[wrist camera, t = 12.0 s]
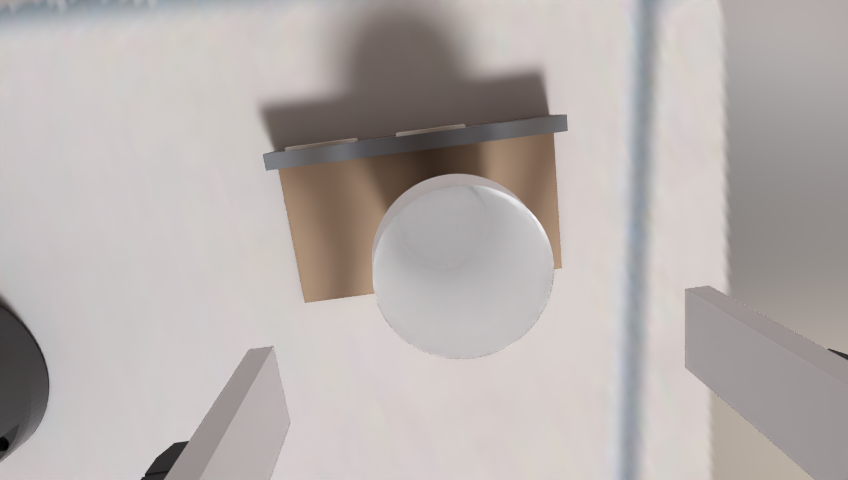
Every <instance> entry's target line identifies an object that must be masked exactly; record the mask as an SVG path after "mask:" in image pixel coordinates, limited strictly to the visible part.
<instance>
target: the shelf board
mask: <svg viewBox="0 0 848 480" xmlns="http://www.w3.org/2000/svg"><path fill="white" fill-rule="evenodd" d="M563 131H568V129H567V115H546V116H539V117H531V118H524V119H516V120H508V121H501V122H493V123H485V124H478V125H470V126H465V124H458V125H451V126H443V127H435V128H428V129H420V130H412V131H405V132H397V133H396V135H394V136H386V137H378V138H371V139H363V140H358V139H357V138H351V139H344V140H336V141H328V142H321V143H313V144H305V145H298V146H291V147H287V148H285V150H279V151H274V152H270V153H266V154H263V158H264V163H265V168H266V170H274V169H279V174H280V179H281V185H282V190H283V195H284V200H285V205H286V210H287V215H288V220H289V225H290V230H291V235H292V240H293V245H294V250H295V255H296V260H297V266H298V271H299V276H300V281H301V286H302V291H303V296H304V301H305V303H307V302H314V301H322V300H329V299H337V298H344V297H352V296H359V295H366V294H374V288H373V271H372V248H373V242H374V238H375V235H376V232H377V229H378V227H379V224H380V222H381V220H382V219H383V217H384V215H385V213H386V212H387V211H388V209H389V208H390V206H391V205H392V204H393V203H394V202H395V201H396V200H397V199H398V198H399V197H400V196H401V195H402V194H403V193H404V192H406V191H407V190H408V189H410V188H412V187H413V186H415V185H416V184H418V183H420V182H422V181H425V180H427V179H430V178H433V177H437V176H441V175H447V174H469V175H475V176H479V177H483V178H486V179H489V180H492V181H494V182H496V183H498V184H500V185H502V186H503V187H505V188H507V189H508V190H509V191H511V192H512V193H513V194H514V195H515V196H517V197H518V198H519V199H520V201H521V202H522V203H523V204H524V205H525V206H526V208H528V209H529V210H530V211H531V213H532V214H533V215H534V216H535V217H536V218H537V220H538V221H539V222H540V224H541V225H542V227H543V229H544V231H545V233H546V235H547V237H548V239H549V242H550V245H551V249H552V254H553V261H554V269H559V268H562V264H561V247H560V231H559V215H558V199H557V182H556V166H555V150H554V133H555V132H563Z"/></svg>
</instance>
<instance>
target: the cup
mask: <svg viewBox="0 0 848 480" xmlns="http://www.w3.org/2000/svg"><path fill="white" fill-rule="evenodd" d="M372 271H373V288H374V293H375V297H376V300H377V303H378V306H379V308H380V310H381V313H382V314H383V316H384V318H385V320H386V321H387V322H388V324H389V325H390V326H391V328H392V329H393V330H394V331H395V332H396V333H397V334H398V335H399V336H400V337H401V338H402V339H404V340H405V341H406V342H407V343H409V344H410V345H412V346H414V347H415V348H417V349H419V350H421V351H423V352H426V353H428V354H431V355H435V356H438V357H443V358H450V359H471V358H477V357H482V356H486V355H490V354H492V353H495V352H498V351H500V350H502V349H504V348H506V347H508V346H509V345H511V344H513V343H514V342H515V341H517V340H518V339H520V338H521V337H522V336H523V335H524V334H525V333H526V332H527V331H528V330H529V329H530V328H531V327H532V326H533V325H534V324H535V322H536V321H537V320H538V318H539V317H540V315H541V314H542V312H543V310H544V308H545V306H546V304H547V301H548V299H549V296H550V293H551V290H552V285H553V278H554V261H553V254H552V249H551V245H550V242H549V239H548V237H547V235H546V233H545V231H544V229H543V227H542V225H541V224H540V222H539V221H538V220H537V218H536V217H535V216H534V215H533V214H532V213H531V211H530V210H529V209H528V208H526V206H525V205H524V204H523V203H522V202H521V201H520V199H519V198H518V197H517V196H515V195H514V194H513V193H512V192H511V191H509V190H508V189H507V188H505V187H503V186H502V185H500V184H498V183H496V182H494V181H492V180H489V179H486V178H483V177H479V176H475V175H469V174H447V175H441V176H437V177H433V178H430V179H427V180H425V181H422V182H420V183H418V184H416V185H415V186H413V187H412V188H410V189H408V190H407V191H406V192H404V193H403V194H402V195H401V196H400V197H399V198H398V199H397V200H396V201H395V202H394V203H393V204H392V205H391V206H390V208H389V209H388V211H387V212H386V213H385V215H384V217H383V219H382V220H381V222H380V224H379V227H378V229H377V232H376V235H375V238H374V242H373V248H372Z"/></svg>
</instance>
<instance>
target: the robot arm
mask: <svg viewBox="0 0 848 480" xmlns="http://www.w3.org/2000/svg"><path fill="white" fill-rule="evenodd" d="M685 367H686V368H687V369H688V370H689V371H690V372H691V373H692V374H694V375H695V376H696V377H697V378H698V379H699V380H701V381H702V382H703V383H704V384H705V385H706V386H707V387H709V388H710V389H711V390H712V391H713V392H714V393H716V394H717V395H718V396H719V397H720V398H721V399H722V400H724V401H725V402H726V403H727V404H728V405H729V406H731V407H732V408H733V409H734V410H735V411H736V412H738V413H739V414H740V415H741V416H742V417H743V418H744V419H746V420H747V421H748V422H749V423H750V424H751V425H753V426H754V427H755V428H756V429H757V430H758V431H759V432H761V433H762V434H763V435H764V436H765V437H766V438H767V439H769V440H770V441H771V442H772V443H773V444H774V445H775V446H777V447H778V448H779V449H780V450H781V451H782V452H784V453H785V454H786V455H787V456H788V457H790V458H791V459H792V460H793V461H794V462H795V463H796V464H797V465H798V466H800V467H801V468H802V469H803V470H804V471H805V472H807V473H808V474H809V475H810V476H811V477H812V478H813V479H815V480H848V355H847V354H844V353H841V352H838V351H835V350H831V349H825V348H824V347H822V346H820V345H818V344H816V343H815V342H813V341H811V340H809V339H807V338H805V337H803V336H802V335H800V334H798V333H796V332H794V331H792V330H790V329H788V328H787V327H785V326H783V325H781V324H779V323H777V322H775V321H773V320H772V319H770V318H768V317H766V316H764V315H763V314H761V313H759V312H757V311H755V310H753V309H751V308H750V307H748V306H746V305H744V304H742V303H740V302H738V301H736V300H735V299H733V298H731V297H729V296H727V295H725V294H723V293H722V292H720V291H718V290H716V289H714V288H712V287H710V286H703V287H695V288H688V289H685ZM48 393H49V386H48V376H47V371H46V367H45V364H44V361H43V358H42V356H41V354H40V351H39V349H38V347H37V346H36V344H35V342H34V341H33V339H32V338H31V336H30V335H29V333H28V332H27V331H26V330H25V328H24V327H23V326H22V325H21V324H20V323H19V322H18V321H17V320H16V319H15V318H14V317H13V316H12V315H11V314H10V313H9V312H8V311H6V310H5V309H4V308H2V307H1V306H0V462H2V461H3V460H4V459H5V458H7V457H8V456H9V455H10V454H11V453H12V452H14V451H15V450H16V449H17V448H18V447H19V446H21V445H22V444H23V443H24V442H25V441H26V440H27V439H28V438H29V437H30V436H31V435H32V434H33V433H34V432H35V430H36V429H37V427H38V426H39V424H40V422H41V420H42V418H43V416H44V413H45V410H46V407H47V402H48ZM289 426H290V419H289V414H288V410H287V405H286V401H285V396H284V392H283V387H282V382H281V378H280V373H279V369H278V364H277V360H276V355H275V351H274V346H271V347H264V348H257V349H250V350H248V352H247V354H246V355H245V357H244V358H243V360H242V361H241V363H240V364H239V366H238V367H237V369H236V370H235V372H234V373H233V375H232V376H231V378H230V380H229V381H228V383H227V384H226V386H225V387H224V389H223V390H222V392H221V393H220V395H219V396H218V398H217V399H216V401H215V402H214V404H213V406H212V407H211V409H210V410H209V412H208V413H207V415H206V416H205V418H204V419H203V421H202V422H201V424H200V425H199V427H198V428H197V430H196V432H195V433H194V435H193V436H192V438H191V439H190V441H186V442H179V443H174V444H173V445H172V446H170V447H169V448H168V449H167V450H166V451H164V452H163V453H162V454H161V455H159V456H158V457H157V458H156V459H155V461H154V462H153V463H152V465H151V466H150V468H149V469H148V470H147V472H146V473H145V477H142V479H141V480H270V478H271V476H272V473H273V470H274V467H275V464H276V462H277V459H278V456H279V453H280V451H281V448H282V445H283V442H284V439H285V437H286V434H287V431H288V428H289Z"/></svg>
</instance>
